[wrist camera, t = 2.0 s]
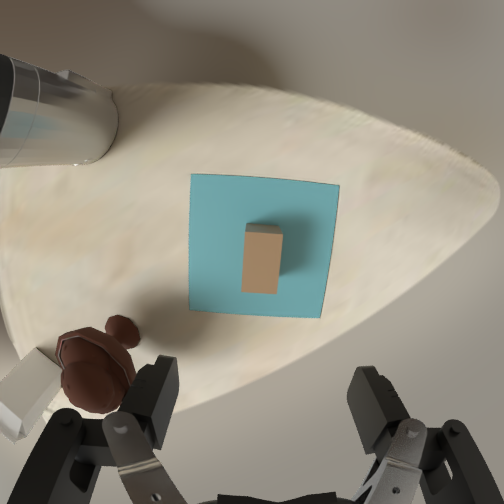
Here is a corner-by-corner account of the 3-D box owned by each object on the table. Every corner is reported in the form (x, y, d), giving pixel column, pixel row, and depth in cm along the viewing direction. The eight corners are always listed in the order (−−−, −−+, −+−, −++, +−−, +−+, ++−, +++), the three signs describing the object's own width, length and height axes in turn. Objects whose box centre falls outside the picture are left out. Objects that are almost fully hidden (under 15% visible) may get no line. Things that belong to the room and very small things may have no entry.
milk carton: (35, 346, 35) (-22, 405, 17) (63, 368, 36) (10, 436, 18) (35, 368, 37) (-13, 424, 19) (61, 388, 38) (17, 451, 20)
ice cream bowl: (90, 286, 32) (21, 344, 17) (163, 313, 33) (116, 395, 18) (90, 345, 34) (40, 408, 20) (155, 371, 35) (121, 450, 21)
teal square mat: (192, 174, 29) (180, 174, 24) (337, 185, 29) (353, 187, 24) (190, 306, 33) (180, 329, 28) (318, 315, 33) (328, 337, 28)
